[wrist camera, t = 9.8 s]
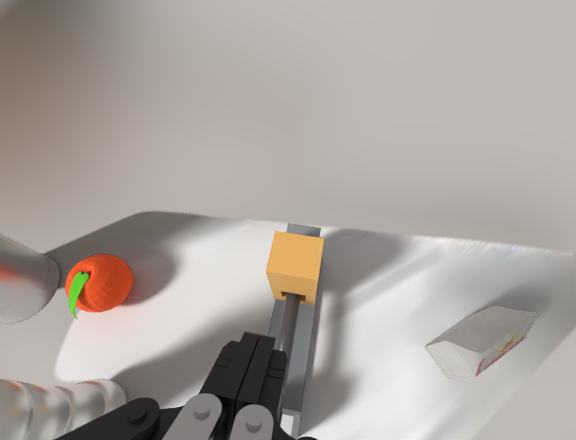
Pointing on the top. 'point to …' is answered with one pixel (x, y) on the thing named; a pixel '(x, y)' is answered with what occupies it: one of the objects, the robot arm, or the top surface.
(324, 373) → the top surface
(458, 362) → the milk carton
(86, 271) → the clementine
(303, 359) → the gray horizontal rod stand
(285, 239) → the sleeve
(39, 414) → the plastic bottle
